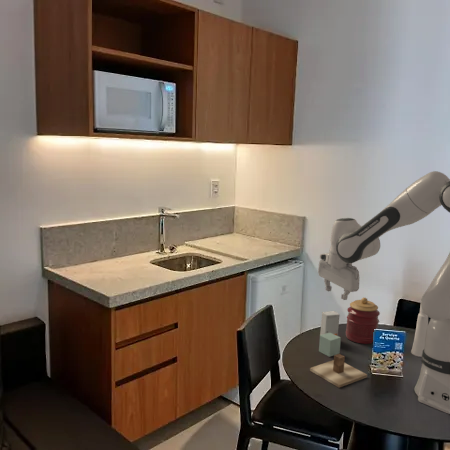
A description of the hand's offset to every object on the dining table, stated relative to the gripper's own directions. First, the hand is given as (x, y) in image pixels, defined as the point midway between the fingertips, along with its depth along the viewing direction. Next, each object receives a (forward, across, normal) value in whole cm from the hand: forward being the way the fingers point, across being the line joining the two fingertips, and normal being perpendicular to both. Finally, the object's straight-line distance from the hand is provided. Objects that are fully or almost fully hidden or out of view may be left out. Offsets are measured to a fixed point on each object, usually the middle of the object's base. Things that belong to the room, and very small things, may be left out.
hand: (335, 294), depth 185 cm
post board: (+23, -16, +9) cm, 29 cm away
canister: (+23, +5, -21) cm, 32 cm away
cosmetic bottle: (+22, -16, -32) cm, 42 cm away
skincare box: (+24, +8, -6) cm, 26 cm away
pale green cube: (+23, -1, +1) cm, 23 cm away
